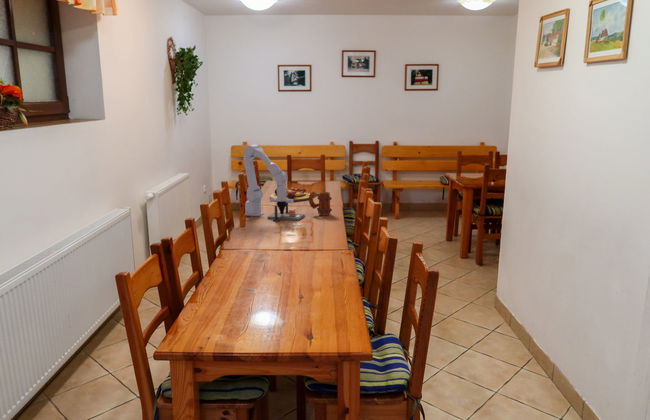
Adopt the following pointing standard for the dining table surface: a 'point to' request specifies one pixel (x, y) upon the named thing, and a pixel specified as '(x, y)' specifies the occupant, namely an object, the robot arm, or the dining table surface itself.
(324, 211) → the mug
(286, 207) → the post
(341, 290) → the dining table surface
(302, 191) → the wooden plate with food
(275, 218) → the post
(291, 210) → the knob
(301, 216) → the breaker panel
